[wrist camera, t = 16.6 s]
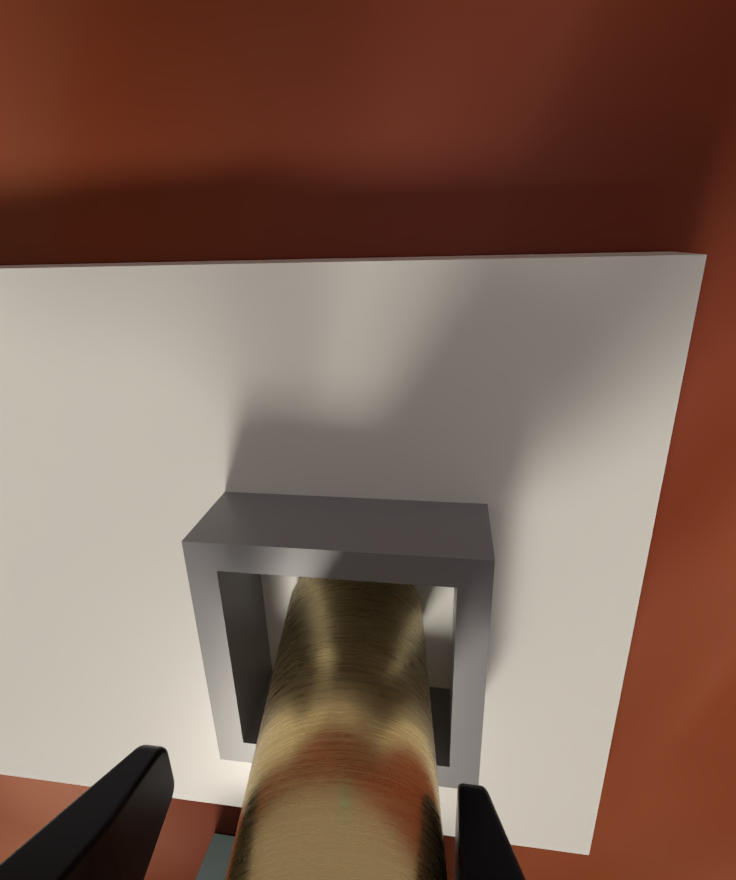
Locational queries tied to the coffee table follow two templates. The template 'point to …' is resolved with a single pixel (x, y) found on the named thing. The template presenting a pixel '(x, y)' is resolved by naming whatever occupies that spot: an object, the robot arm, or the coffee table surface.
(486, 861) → the robot arm
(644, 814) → the coffee table surface
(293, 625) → the pin
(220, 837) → the block
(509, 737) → the board
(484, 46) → the coffee table surface
